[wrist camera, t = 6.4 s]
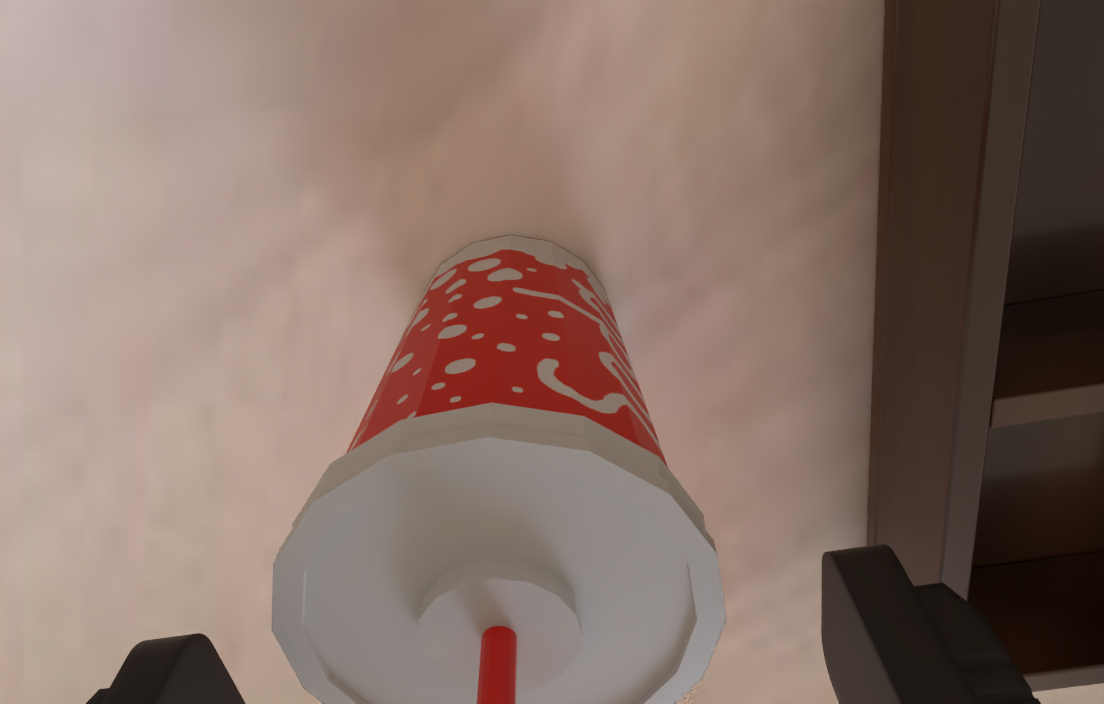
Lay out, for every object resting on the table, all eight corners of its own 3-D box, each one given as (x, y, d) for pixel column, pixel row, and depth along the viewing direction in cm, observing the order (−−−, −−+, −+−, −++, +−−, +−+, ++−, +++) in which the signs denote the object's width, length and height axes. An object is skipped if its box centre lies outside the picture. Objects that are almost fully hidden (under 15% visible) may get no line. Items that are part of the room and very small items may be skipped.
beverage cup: (678, 383, 19) (940, 1200, 7) (456, 464, 20) (334, 1298, 8) (586, 157, 16) (744, 831, 4) (335, 265, 17) (-146, 1060, 5)
